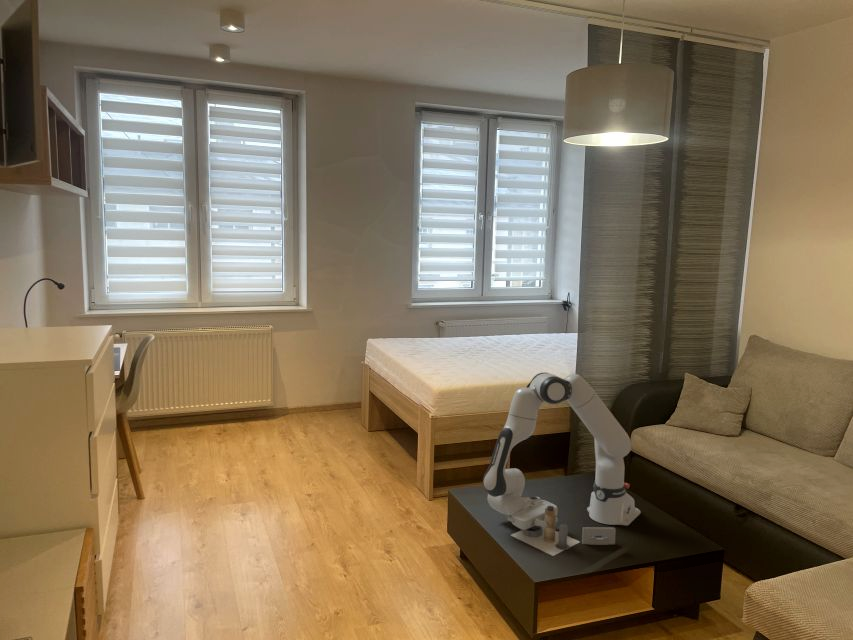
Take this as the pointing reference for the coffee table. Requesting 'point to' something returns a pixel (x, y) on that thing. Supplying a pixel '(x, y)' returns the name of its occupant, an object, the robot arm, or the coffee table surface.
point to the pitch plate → (536, 539)
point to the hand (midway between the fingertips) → (552, 522)
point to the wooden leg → (550, 524)
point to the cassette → (598, 531)
